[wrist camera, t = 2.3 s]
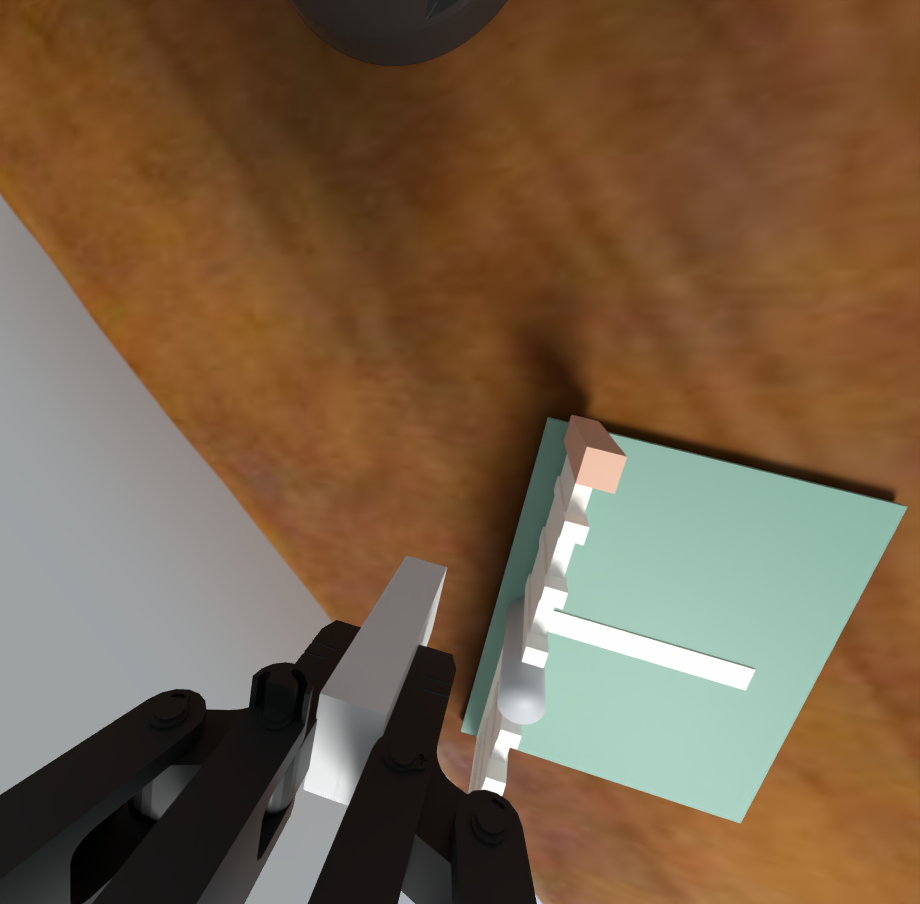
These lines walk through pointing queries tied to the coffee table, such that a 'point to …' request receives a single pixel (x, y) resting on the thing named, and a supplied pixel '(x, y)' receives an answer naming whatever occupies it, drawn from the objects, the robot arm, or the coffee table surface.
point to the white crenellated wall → (567, 527)
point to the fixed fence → (508, 707)
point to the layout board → (686, 618)
